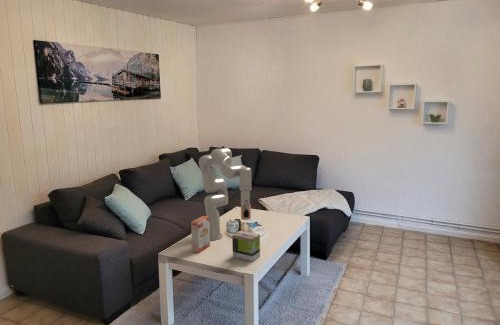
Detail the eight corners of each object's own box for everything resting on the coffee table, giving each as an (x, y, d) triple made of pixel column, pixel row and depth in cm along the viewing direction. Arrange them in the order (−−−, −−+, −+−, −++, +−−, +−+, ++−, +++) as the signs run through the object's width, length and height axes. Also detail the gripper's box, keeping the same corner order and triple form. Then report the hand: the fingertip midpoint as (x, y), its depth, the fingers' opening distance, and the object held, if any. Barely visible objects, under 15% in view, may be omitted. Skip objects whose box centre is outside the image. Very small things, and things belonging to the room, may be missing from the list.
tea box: (260, 256, 247) (260, 234, 244) (252, 262, 238) (251, 239, 236) (240, 251, 255) (240, 229, 252) (232, 256, 246) (231, 234, 244)
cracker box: (199, 253, 251) (198, 223, 247) (191, 252, 254) (190, 221, 250) (210, 245, 264) (209, 216, 260) (203, 244, 266) (202, 215, 262)
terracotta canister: (241, 220, 239) (241, 206, 237) (240, 216, 245) (240, 203, 243) (251, 219, 239) (251, 205, 237) (250, 216, 245) (250, 202, 243)
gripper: (238, 184, 246) (238, 211, 250) (240, 191, 229) (240, 220, 233) (250, 183, 247) (250, 210, 250) (252, 190, 230) (253, 219, 233)
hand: (245, 215), depth 241 cm, fingers closed on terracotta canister, 6 cm apart
